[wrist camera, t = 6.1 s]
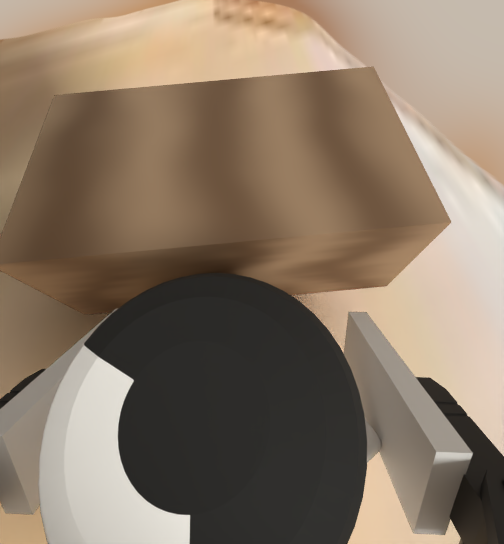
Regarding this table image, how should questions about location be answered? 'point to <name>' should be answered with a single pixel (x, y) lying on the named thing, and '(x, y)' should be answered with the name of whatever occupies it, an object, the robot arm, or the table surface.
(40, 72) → the table surface
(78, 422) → the medicine bottle
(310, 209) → the walnut box
